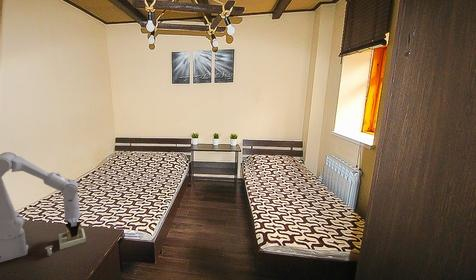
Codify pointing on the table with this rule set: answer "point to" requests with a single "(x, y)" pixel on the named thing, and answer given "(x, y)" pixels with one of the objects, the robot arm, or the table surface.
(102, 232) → the table surface
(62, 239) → the tray
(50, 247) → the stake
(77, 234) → the tan open box
